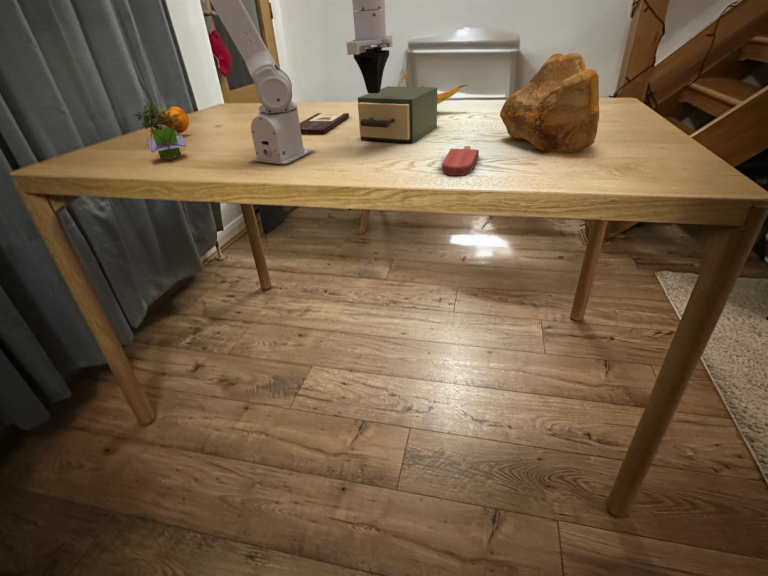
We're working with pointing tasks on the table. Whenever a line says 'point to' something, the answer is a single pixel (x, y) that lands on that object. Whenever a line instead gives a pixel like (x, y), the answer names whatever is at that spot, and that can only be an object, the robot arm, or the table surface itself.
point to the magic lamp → (440, 97)
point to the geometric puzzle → (166, 142)
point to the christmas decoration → (164, 117)
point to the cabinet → (420, 108)
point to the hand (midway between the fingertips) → (373, 92)
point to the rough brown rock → (556, 106)
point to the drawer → (384, 120)
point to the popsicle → (460, 161)
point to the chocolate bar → (322, 122)
